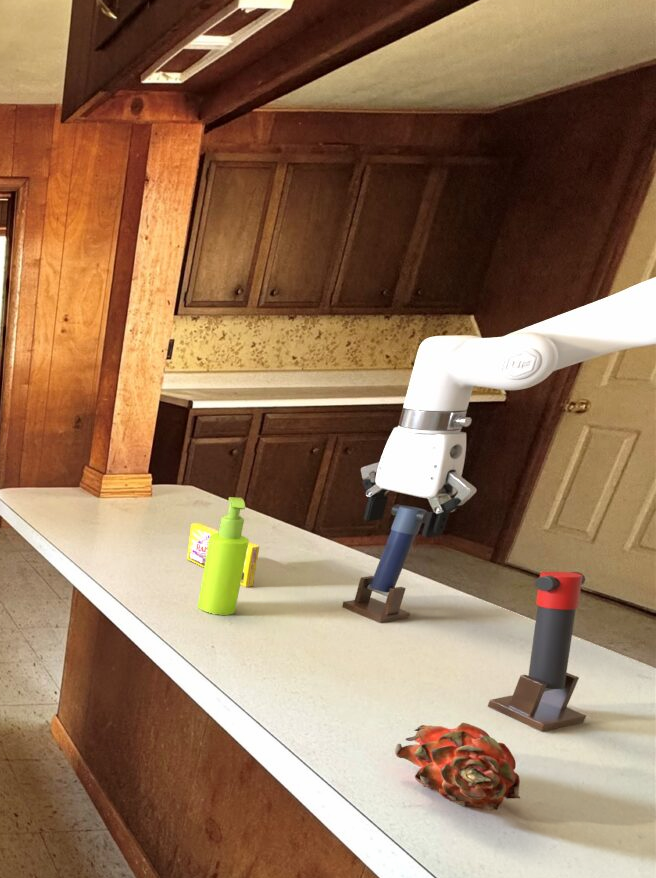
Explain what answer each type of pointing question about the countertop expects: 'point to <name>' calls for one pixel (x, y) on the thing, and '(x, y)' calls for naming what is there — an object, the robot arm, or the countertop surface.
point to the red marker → (554, 626)
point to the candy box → (200, 546)
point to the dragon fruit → (463, 765)
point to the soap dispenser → (224, 563)
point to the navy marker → (397, 547)
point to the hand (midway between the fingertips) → (400, 527)
